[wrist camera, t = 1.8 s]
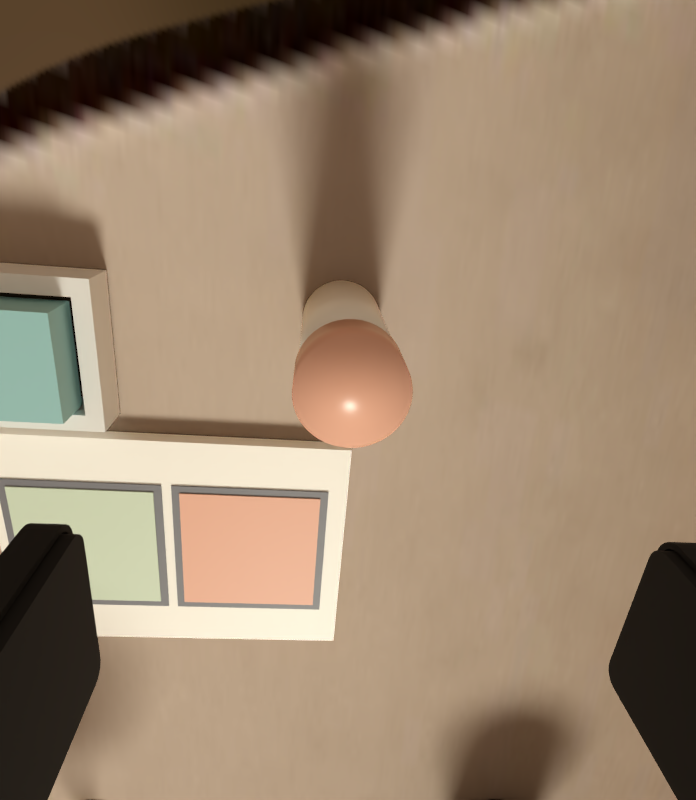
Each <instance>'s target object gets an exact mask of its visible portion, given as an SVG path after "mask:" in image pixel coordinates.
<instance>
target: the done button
mask: <svg viewBox="0 0 696 800" xmlns="http://www.w3.org/2000/svg"><path fill="white" fill-rule="evenodd" d="M81 405H82V399H81V391H80V383H79V375H78V367H77V359H76V351H75V343H74V335H73V327H72V319H71V311H70V303H69V301H62V300H47V299H32V298H17V297H2V296H0V421H11V422H31V423H52V424H64V423H65V422H66V421H67V420H68V419H69V418H70V417H71V416H72V415H73V414H74V413H75V412H76V411H77V410H78V409H79V407H80V406H81Z"/></svg>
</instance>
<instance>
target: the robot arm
mask: <svg viewBox="0 0 696 800" xmlns="http://www.w3.org/2000/svg"><path fill="white" fill-rule="evenodd" d="M99 670H100V652H99V645H98V638H97V631H96V623H95V616H94V609H93V602H92V595H91V588H90V581H89V574H88V567H87V559H86V552H85V545H84V540H83V537H82V536H81V535H80V534H73V532H72V529H71V527H70V526H69V525H67V524H42V523H29V524H26V525H25V526H24V527H23V528H22V529H21V530H20V531H19V532H18V533H17V535H16V536H15V537H14V538H13V540H12V541H11V542H10V543H9V545H8V546H7V547H6V548H5V550H4V551H3V552H2V553H1V555H0V800H48V797H49V795H50V793H51V790H52V788H53V785H54V783H55V781H56V778H57V776H58V773H59V771H60V769H61V766H62V764H63V761H64V759H65V757H66V754H67V752H68V750H69V747H70V745H71V742H72V740H73V738H74V735H75V733H76V730H77V728H78V726H79V723H80V721H81V718H82V716H83V714H84V711H85V709H86V706H87V704H88V702H89V699H90V697H91V695H92V692H93V690H94V687H95V685H96V682H97V679H98V675H99ZM609 676H610V680H611V683H612V685H613V687H614V689H615V691H616V693H617V695H618V696H619V698H620V700H621V702H622V703H623V705H624V707H625V709H626V710H627V712H628V714H629V716H630V717H631V719H632V721H633V723H634V724H635V726H636V728H637V730H638V731H639V733H640V735H641V736H642V738H643V740H644V742H645V743H646V745H647V747H648V749H649V750H650V752H651V754H652V756H653V757H654V759H655V761H656V763H657V764H658V766H659V768H660V770H661V771H662V773H663V775H664V777H665V778H666V780H667V782H668V784H669V785H670V787H671V789H672V791H673V792H674V794H675V796H676V798H677V799H678V800H696V543H679V542H667V543H664V544H662V545H661V546H660V547H659V549H658V551H654V552H653V553H652V554H651V556H650V557H649V560H648V562H647V565H646V568H645V570H644V573H643V576H642V578H641V581H640V583H639V586H638V589H637V591H636V594H635V597H634V599H633V602H632V605H631V607H630V610H629V612H628V615H627V618H626V620H625V623H624V626H623V628H622V631H621V633H620V636H619V639H618V641H617V644H616V647H615V649H614V652H613V655H612V657H611V660H610V663H609Z"/></svg>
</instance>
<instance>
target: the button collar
mask: <svg viewBox="0 0 696 800" xmlns="http://www.w3.org/2000/svg"><path fill="white" fill-rule="evenodd" d="M0 292H2V293H17V294H32V295H46V296H61V297H71V303H72V311H73V319H74V328H75V336H76V344H77V352H78V360H79V368H80V376H81V384H82V392H83V397H81V399H82V405H81V406H80V407H79V409H78V410H77V411H76V412H75V413H74V414H73V415H72V416H71V417H70V418H69V419H68V420H67V421H66V422H65V423H64V424H52V423H31V422H11V421H0V427H6V428H27V429H47V430H68V431H89V432H106V431H107V430H108V428H109V427H110V426H111V425H112V423H113V422H114V421H115V420H116V418H117V417H118V416H119V415H120V407H119V397H118V386H117V376H116V365H115V355H114V344H113V334H112V323H111V313H110V303H109V292H108V282H107V271H106V270H98V269H84V268H70V267H56V266H42V265H28V264H14V263H0Z"/></svg>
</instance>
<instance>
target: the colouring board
mask: <svg viewBox="0 0 696 800" xmlns="http://www.w3.org/2000/svg"><path fill="white" fill-rule="evenodd" d="M351 453H352V448H345V447H338V446H334V445H331V444H328V443H325V442H321V441H300V440H280V439H259V438H239V437H218V436H198V435H177V434H156V433H136V432H115V431H106V432H89V431H68V430H47V429H27V428H6V427H0V546H1V551H2V552H3V551H4V550H5V548H6V547H7V546H8V545H9V543H10V542H11V541H12V540H13V538H14V537H15V536H16V535H17V533H18V532H19V531H20V530H21V529H22V528H23V527H24V526H25V525H26V524H29V523H42V524H67V525H69V526H70V527H71V529H72V532H73V534H80V535H81V536H82V537H83V540H84V545H85V552H86V559H87V567H88V574H89V581H90V588H91V595H92V602H93V609H94V616H95V623H96V631H97V636H114V637H166V638H218V639H271V640H323V641H333V639H334V629H335V618H336V608H337V598H338V587H339V577H340V567H341V556H342V546H343V536H344V525H345V515H346V505H347V495H348V484H349V474H350V464H351Z"/></svg>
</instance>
